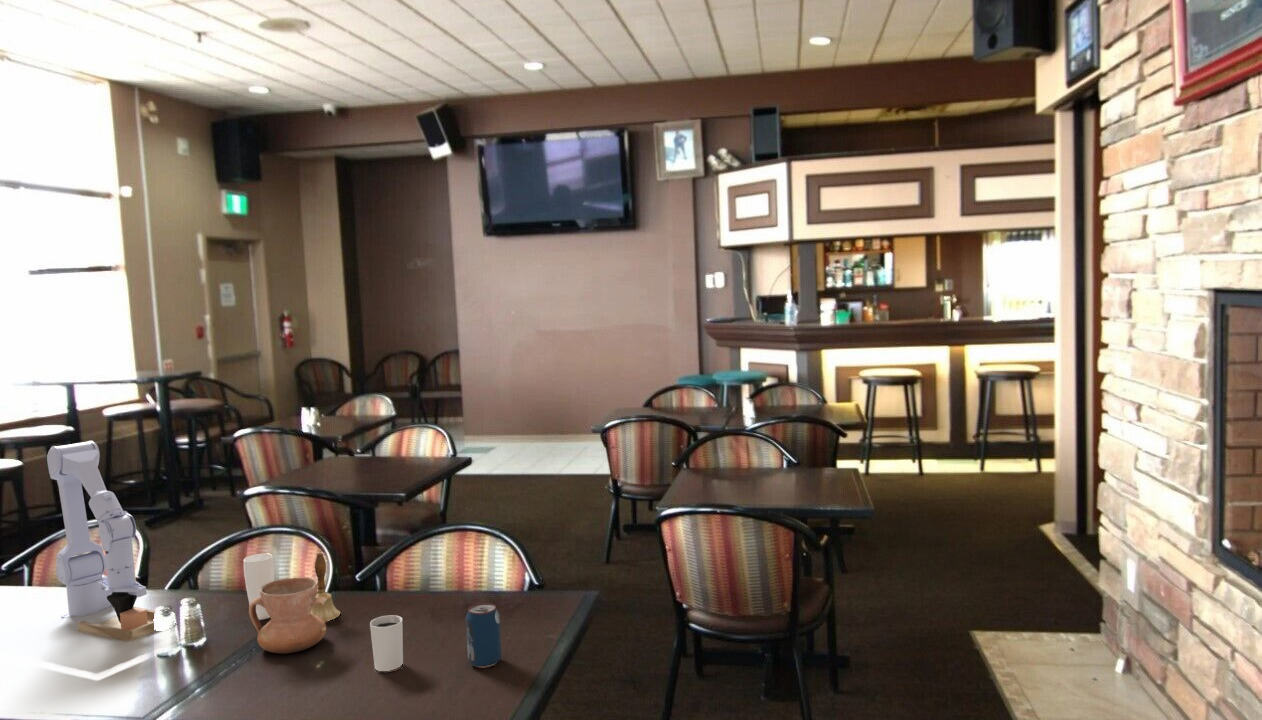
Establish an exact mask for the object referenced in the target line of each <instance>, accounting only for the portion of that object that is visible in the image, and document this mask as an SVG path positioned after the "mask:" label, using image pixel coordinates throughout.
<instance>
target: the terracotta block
mask: <svg viewBox="0 0 1262 720" xmlns="http://www.w3.org/2000/svg"><path fill="white" fill-rule="evenodd" d="M140 608H141V607H138V608H133V609H130V610H128V611H125V612H122V613H120V621H121V629H124V630H129V631H130V630H132V629H135V628H137V627H140V626H142V625H145V624H147V623H148V620H147V610H145V609H146V608H143V609H140Z"/></svg>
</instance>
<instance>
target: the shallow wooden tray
mask: <svg viewBox="0 0 1262 720" xmlns="http://www.w3.org/2000/svg"><path fill="white" fill-rule="evenodd" d="M133 608H140V609H145V610H147V620H148V623H147V624H145V625H142V626H140V627H137V628H135V629H132V630H130V631H129V630H124V629H121V623H120V622H119V620H118V617H117V616H114V617H112V618H109V619H107V620H104V621H101V622H98V623H94V622H88V621H84V620H81V621H78V622H77V626H78V628H77V629H78V632H81V633H82V632H83V633H87V634H91V635H96V636H97V635H98V636H101V637H106V638H110V639H115V640H121V641H123V642H124V641H126V642H131V641H133V640H135V639H138V638H141V637H144V636H146V635H149V634H150V633H153V632H155V631H154V621H153V619H154V613H155V611H156V610H153V609H148V608H142V607H138V606H137V607H136V606H134V607H133Z"/></svg>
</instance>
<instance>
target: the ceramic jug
mask: <svg viewBox="0 0 1262 720" xmlns="http://www.w3.org/2000/svg"><path fill="white" fill-rule="evenodd" d="M317 594H318V579H316V578H312V577H309V576H308V577H307V576H306V577H305V576H303V577H300V576H299V577H292V578H291V577H290V578H288V577H287V578H281V579H276V580H275V579H274V581H271V582H269V583H266V584H264V585H263V586H262V587H261V588H260V595H261V598H256V599H254V600H253V601H252V602H251V603H250V606H249V607H248V615H249V618H250V620H251V622H252V625H253V626H254V628H255V630H256V632H257V639H256V640H257V643H258V646H260V648H262V649H263V650H264V651H267V652H269V653H275V654H292V653H298V652H302V651H304V650H308V649H309V648H311V647H313V646H315V645H316V644H318V643H319V642H320V641H321V640H322V639H323V638H324V637H325V636H326V633H327V625H326V622H324V621H323V620H322V619H321V618H319V617H317V616H315V615H313V614H311V613H310V612H311V610H312V607H313V606H314V605H316V604H318V603H320V604H322V605H324V603H325V601H327V599H326V598H324V597H318V598H316V595H317ZM256 605H261V606H263V607H264V608H265V609H266V611H267V613H268V614H269V616H270V618H269V619H270V620H269V621H267V623H266V624H265V625H263V626H262V624H261V620H259V619H258V617H257V613H256Z"/></svg>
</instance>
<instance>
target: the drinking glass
mask: <svg viewBox="0 0 1262 720" xmlns="http://www.w3.org/2000/svg"><path fill="white" fill-rule="evenodd" d="M274 567H275V566H274V557H273V555H272V554H271V553H258V554H257V553H256V554H252V555H249V556H246V557H244V559H243V576H244V580H245V581H244V582H245V586H246V587H245V588H246V593H247V599H248V600H247V601H248V604H249V606H250V603H251V602H252V601H253V600H254V599H256V598H261V595H260V588H261V587H262V586H263V585H264V584H266V583H269V582H271V581H275V568H274ZM256 613H257V617H258V619H259V621H263V620H266V619H271V618H270V616H269V614H268V613H267V611H266V609H265V608H264V607H263V606H261V605H256Z"/></svg>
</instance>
